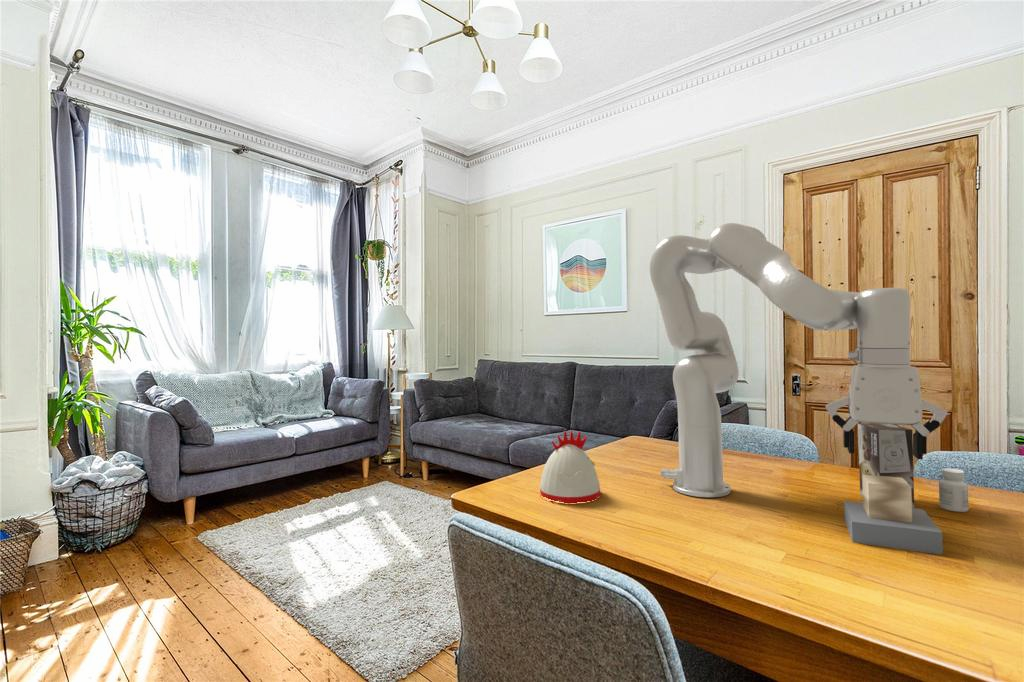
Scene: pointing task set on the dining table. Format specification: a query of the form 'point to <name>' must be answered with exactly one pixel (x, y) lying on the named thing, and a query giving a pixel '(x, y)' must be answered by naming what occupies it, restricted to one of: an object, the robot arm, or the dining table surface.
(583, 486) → the white red dome
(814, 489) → the dining table surface
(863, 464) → the coffee box
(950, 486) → the pill bottle
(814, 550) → the dining table surface
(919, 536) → the charcoal block
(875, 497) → the oak cube
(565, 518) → the dining table surface
